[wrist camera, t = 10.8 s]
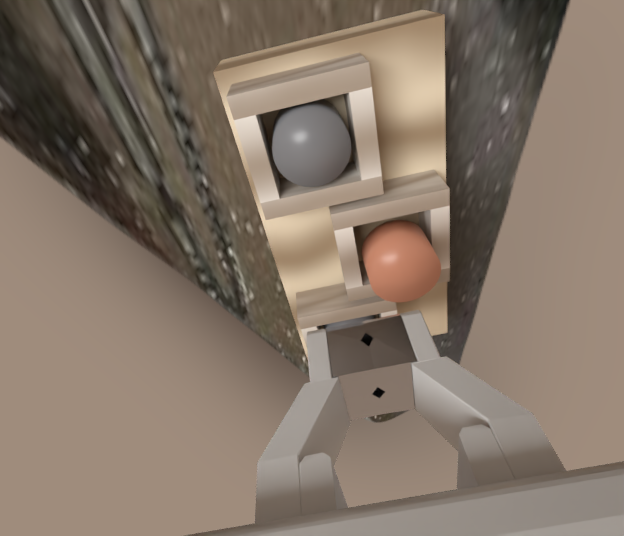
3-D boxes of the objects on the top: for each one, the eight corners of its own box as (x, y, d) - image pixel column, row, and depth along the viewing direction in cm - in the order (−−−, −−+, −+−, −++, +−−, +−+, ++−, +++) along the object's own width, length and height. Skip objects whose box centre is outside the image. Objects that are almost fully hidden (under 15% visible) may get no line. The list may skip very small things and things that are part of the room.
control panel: (221, 60, 26) (205, 84, 20) (422, 9, 25) (465, 19, 19) (305, 329, 40) (309, 386, 35) (433, 303, 39) (459, 358, 34)
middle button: (357, 228, 26) (365, 254, 23) (425, 213, 26) (440, 238, 23) (365, 280, 28) (374, 308, 26) (427, 267, 28) (441, 294, 26)
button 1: (264, 105, 24) (262, 120, 21) (337, 87, 23) (344, 100, 21) (282, 174, 26) (283, 194, 24) (348, 158, 26) (356, 177, 23)
